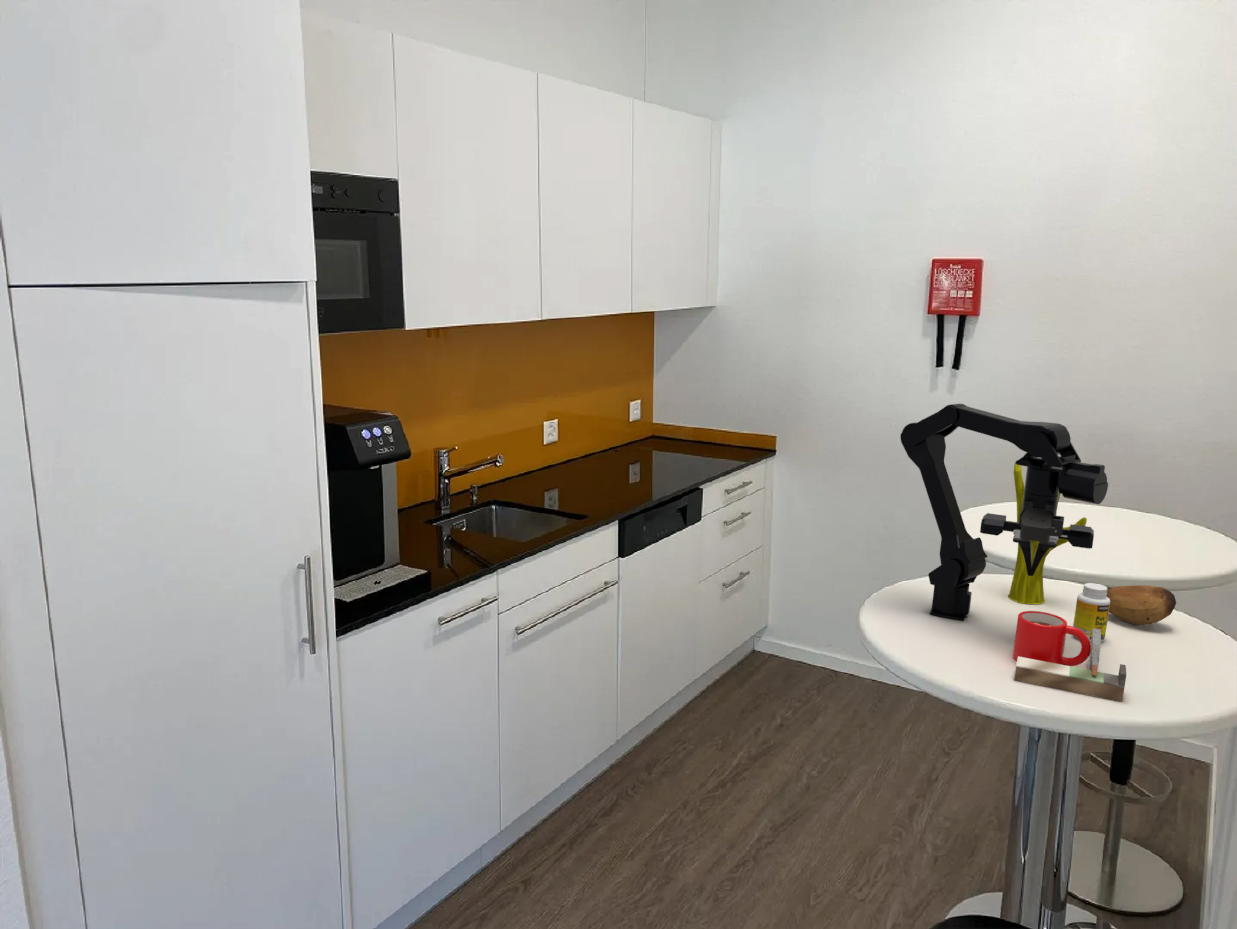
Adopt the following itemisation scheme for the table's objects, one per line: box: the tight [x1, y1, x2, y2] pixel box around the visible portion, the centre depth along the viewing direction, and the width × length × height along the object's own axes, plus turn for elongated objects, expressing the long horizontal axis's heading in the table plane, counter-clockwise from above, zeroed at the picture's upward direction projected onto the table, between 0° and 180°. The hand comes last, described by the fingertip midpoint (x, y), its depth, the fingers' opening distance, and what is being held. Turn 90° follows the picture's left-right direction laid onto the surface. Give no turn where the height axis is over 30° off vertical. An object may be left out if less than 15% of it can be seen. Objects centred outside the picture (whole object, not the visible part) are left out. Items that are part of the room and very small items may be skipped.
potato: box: [1106, 585, 1177, 627], centre depth 187 cm, size 8×14×8 cm
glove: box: [1007, 462, 1088, 606], centre depth 196 cm, size 15×8×30 cm, turn 49°
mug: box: [1012, 610, 1091, 667], centre depth 165 cm, size 8×12×8 cm, turn 60°
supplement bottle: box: [1072, 582, 1110, 643], centre depth 178 cm, size 6×6×10 cm
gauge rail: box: [1014, 656, 1127, 702], centre depth 156 cm, size 16×4×5 cm, turn 64°
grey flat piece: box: [1087, 628, 1102, 675], centre depth 160 cm, size 1×14×6 cm, turn 154°
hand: (1030, 575), depth 176 cm, fingers closed
